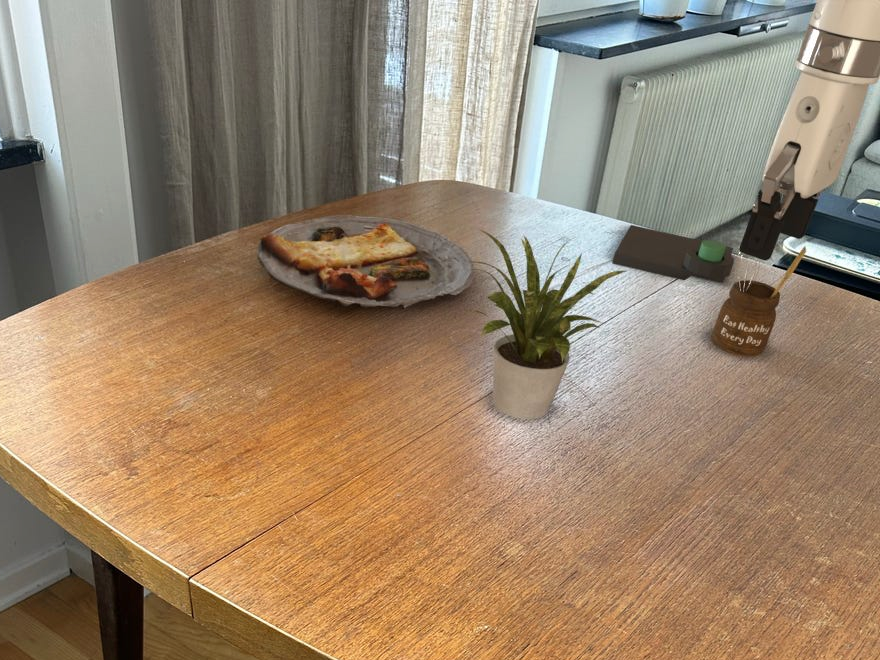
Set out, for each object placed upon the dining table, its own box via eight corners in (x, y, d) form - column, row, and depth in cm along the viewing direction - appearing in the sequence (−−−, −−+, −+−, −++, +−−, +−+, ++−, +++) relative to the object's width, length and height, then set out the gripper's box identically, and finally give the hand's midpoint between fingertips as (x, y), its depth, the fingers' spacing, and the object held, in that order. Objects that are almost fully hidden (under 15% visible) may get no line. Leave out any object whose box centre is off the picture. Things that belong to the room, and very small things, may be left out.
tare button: (722, 257, 120) (727, 243, 119) (719, 265, 118) (724, 251, 117) (698, 252, 121) (703, 238, 119) (696, 260, 118) (700, 245, 117)
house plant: (403, 406, 90) (423, 229, 79) (483, 360, 98) (511, 195, 87) (530, 466, 84) (571, 285, 73) (603, 411, 93) (650, 243, 82)
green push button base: (733, 258, 128) (740, 236, 126) (723, 293, 118) (731, 269, 116) (628, 235, 130) (633, 212, 128) (610, 266, 121) (616, 242, 119)
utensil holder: (708, 334, 109) (744, 227, 101) (764, 346, 108) (805, 238, 100) (706, 356, 104) (744, 245, 96) (764, 368, 104) (807, 258, 95)
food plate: (311, 332, 99) (313, 299, 97) (225, 248, 113) (224, 217, 111) (506, 302, 110) (512, 272, 107) (405, 228, 124) (408, 200, 121)
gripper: (853, 76, 80) (775, 277, 91) (908, 56, 91) (833, 238, 102) (769, 55, 83) (704, 252, 94) (832, 37, 93) (767, 216, 105)
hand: (771, 244), depth 98 cm, fingers open, 9 cm apart
